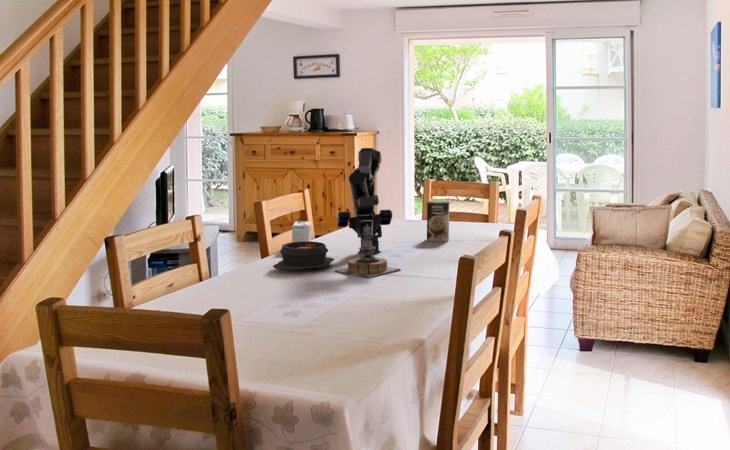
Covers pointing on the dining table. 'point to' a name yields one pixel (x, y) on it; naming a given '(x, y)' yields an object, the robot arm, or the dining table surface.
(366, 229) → the salt shaker
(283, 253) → the casserole
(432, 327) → the dining table surface
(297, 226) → the light bulb box
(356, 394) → the dining table surface
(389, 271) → the walnut collar
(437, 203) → the coffee box
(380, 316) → the dining table surface
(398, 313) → the dining table surface
